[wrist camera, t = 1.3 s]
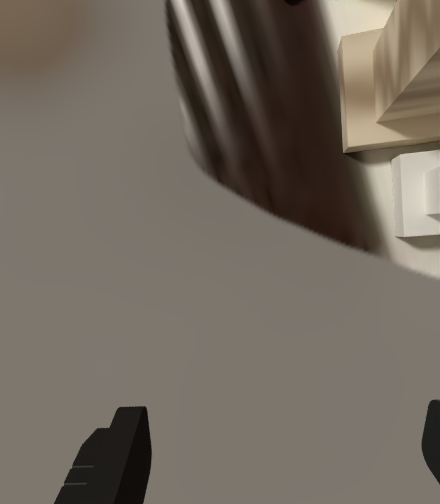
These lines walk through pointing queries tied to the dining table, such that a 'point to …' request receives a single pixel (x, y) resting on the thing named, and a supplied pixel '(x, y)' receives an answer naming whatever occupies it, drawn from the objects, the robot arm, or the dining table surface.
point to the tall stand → (392, 80)
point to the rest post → (416, 193)
